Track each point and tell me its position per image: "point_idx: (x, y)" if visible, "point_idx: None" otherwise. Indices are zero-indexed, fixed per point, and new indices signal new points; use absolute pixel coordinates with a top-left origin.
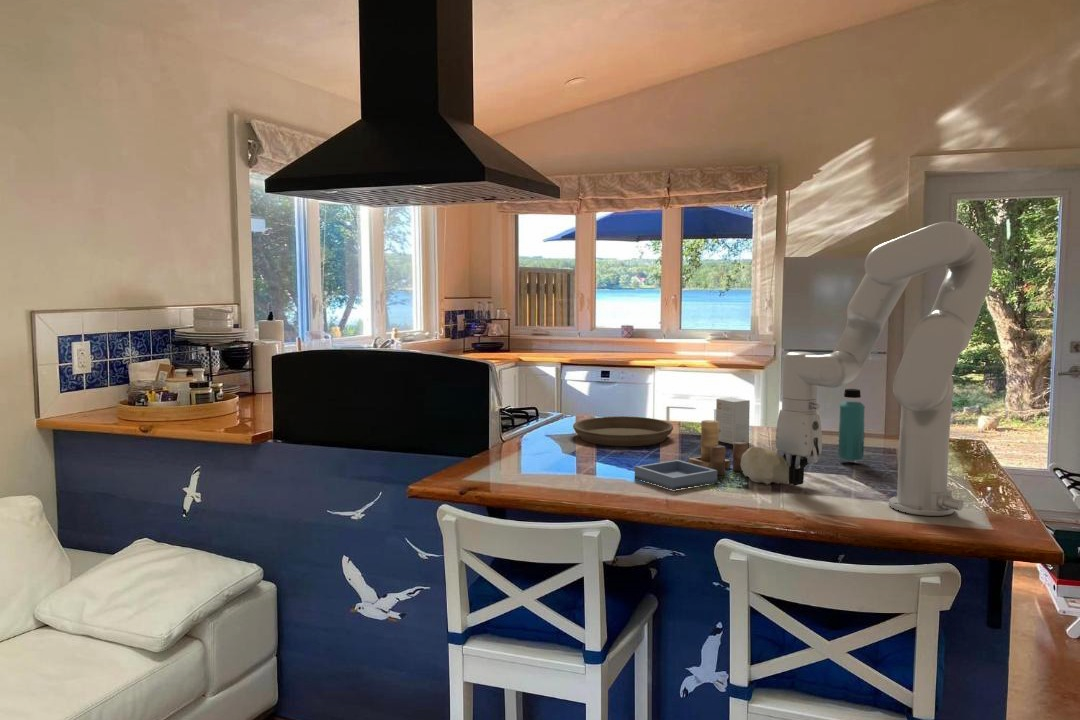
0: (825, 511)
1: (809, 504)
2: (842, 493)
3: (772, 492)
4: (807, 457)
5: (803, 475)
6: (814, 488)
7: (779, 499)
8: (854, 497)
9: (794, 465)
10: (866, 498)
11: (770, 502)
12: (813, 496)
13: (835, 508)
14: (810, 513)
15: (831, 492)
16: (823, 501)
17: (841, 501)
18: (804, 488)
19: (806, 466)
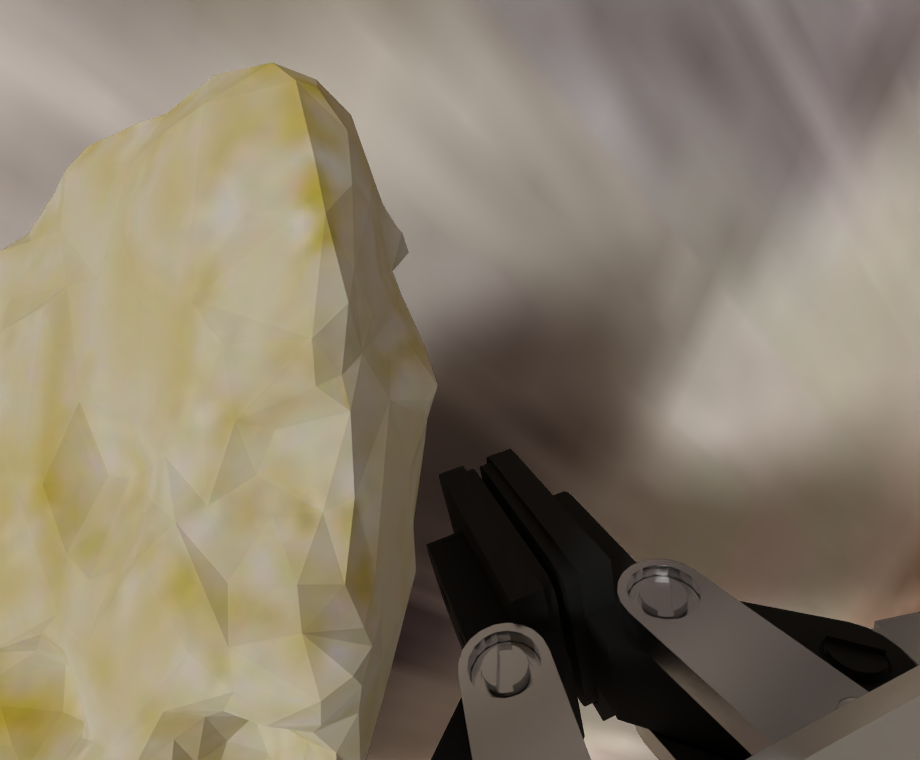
0: (893, 542)
1: (776, 562)
2: (719, 125)
3: (456, 675)
4: (850, 696)
5: (593, 522)
6: (471, 268)
7: None
8: (844, 126)
9: (577, 708)
10: (913, 42)
11: (642, 745)
12: (667, 442)
13: (898, 460)
14: (868, 625)
15: (650, 206)
16: (781, 445)
17: (845, 323)
18: (436, 368)
19: (682, 564)
